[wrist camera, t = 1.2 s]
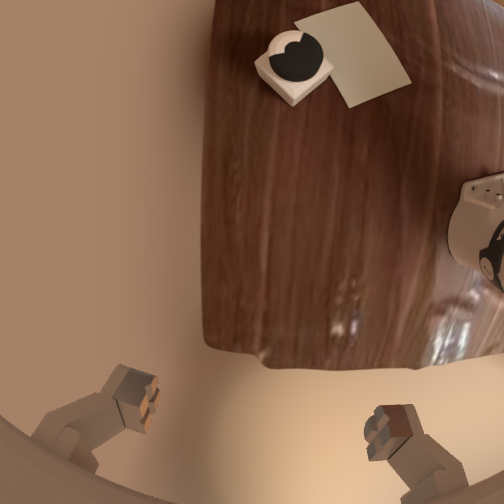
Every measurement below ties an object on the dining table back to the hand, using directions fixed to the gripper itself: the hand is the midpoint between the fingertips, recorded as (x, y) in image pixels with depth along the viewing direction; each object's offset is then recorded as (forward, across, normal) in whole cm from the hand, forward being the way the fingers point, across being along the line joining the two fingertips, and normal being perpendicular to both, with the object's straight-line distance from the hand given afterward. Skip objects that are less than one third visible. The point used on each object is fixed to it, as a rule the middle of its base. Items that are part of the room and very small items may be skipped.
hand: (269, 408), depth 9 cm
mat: (+36, -8, -26) cm, 45 cm away
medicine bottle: (+36, +1, -20) cm, 41 cm away
